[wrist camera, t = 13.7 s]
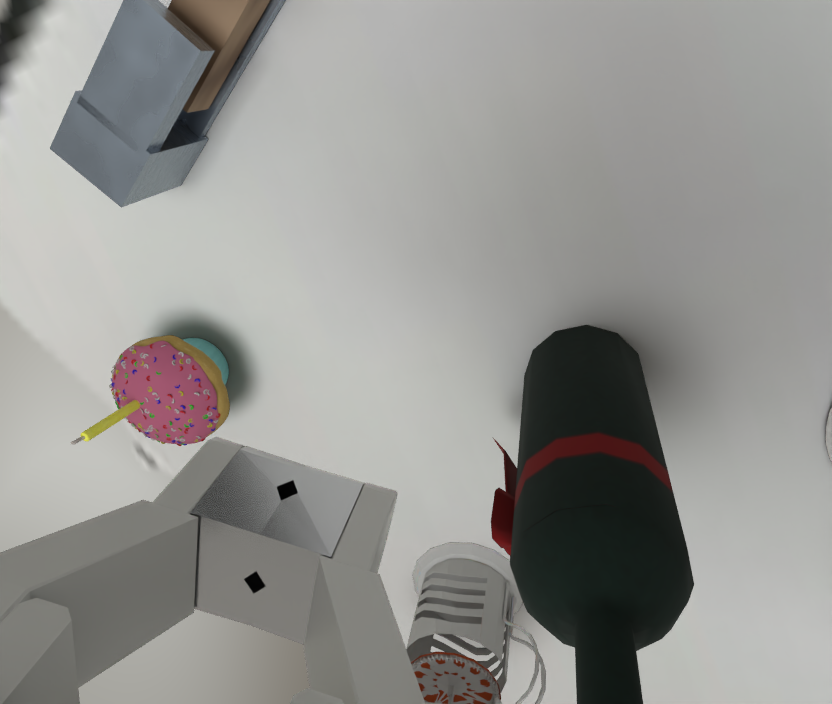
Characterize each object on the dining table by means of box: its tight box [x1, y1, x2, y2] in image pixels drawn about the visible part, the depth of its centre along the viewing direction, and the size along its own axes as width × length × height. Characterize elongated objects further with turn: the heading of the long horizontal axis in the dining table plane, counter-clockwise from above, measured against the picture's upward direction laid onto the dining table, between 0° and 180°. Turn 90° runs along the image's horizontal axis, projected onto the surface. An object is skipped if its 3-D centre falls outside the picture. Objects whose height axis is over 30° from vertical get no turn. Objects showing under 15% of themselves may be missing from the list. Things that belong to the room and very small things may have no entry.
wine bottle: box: [491, 325, 694, 704], centre depth 29 cm, size 8×10×30 cm
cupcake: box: [71, 335, 230, 446], centre depth 43 cm, size 9×8×12 cm
